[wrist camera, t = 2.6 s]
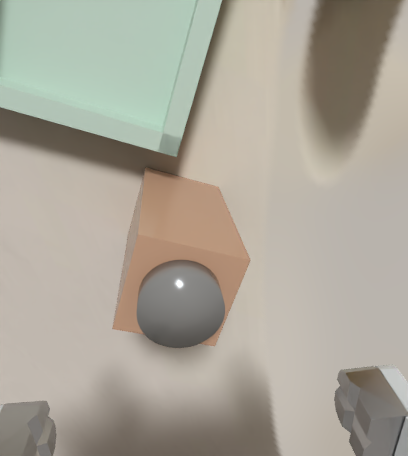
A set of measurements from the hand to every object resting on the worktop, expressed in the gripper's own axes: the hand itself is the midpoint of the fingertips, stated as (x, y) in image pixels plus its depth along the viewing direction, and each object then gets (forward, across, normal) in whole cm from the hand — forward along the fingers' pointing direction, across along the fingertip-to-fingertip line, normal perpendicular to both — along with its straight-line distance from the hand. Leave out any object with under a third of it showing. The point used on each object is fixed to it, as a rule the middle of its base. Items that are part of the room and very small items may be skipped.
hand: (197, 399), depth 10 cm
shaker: (+14, 0, 0) cm, 14 cm away
